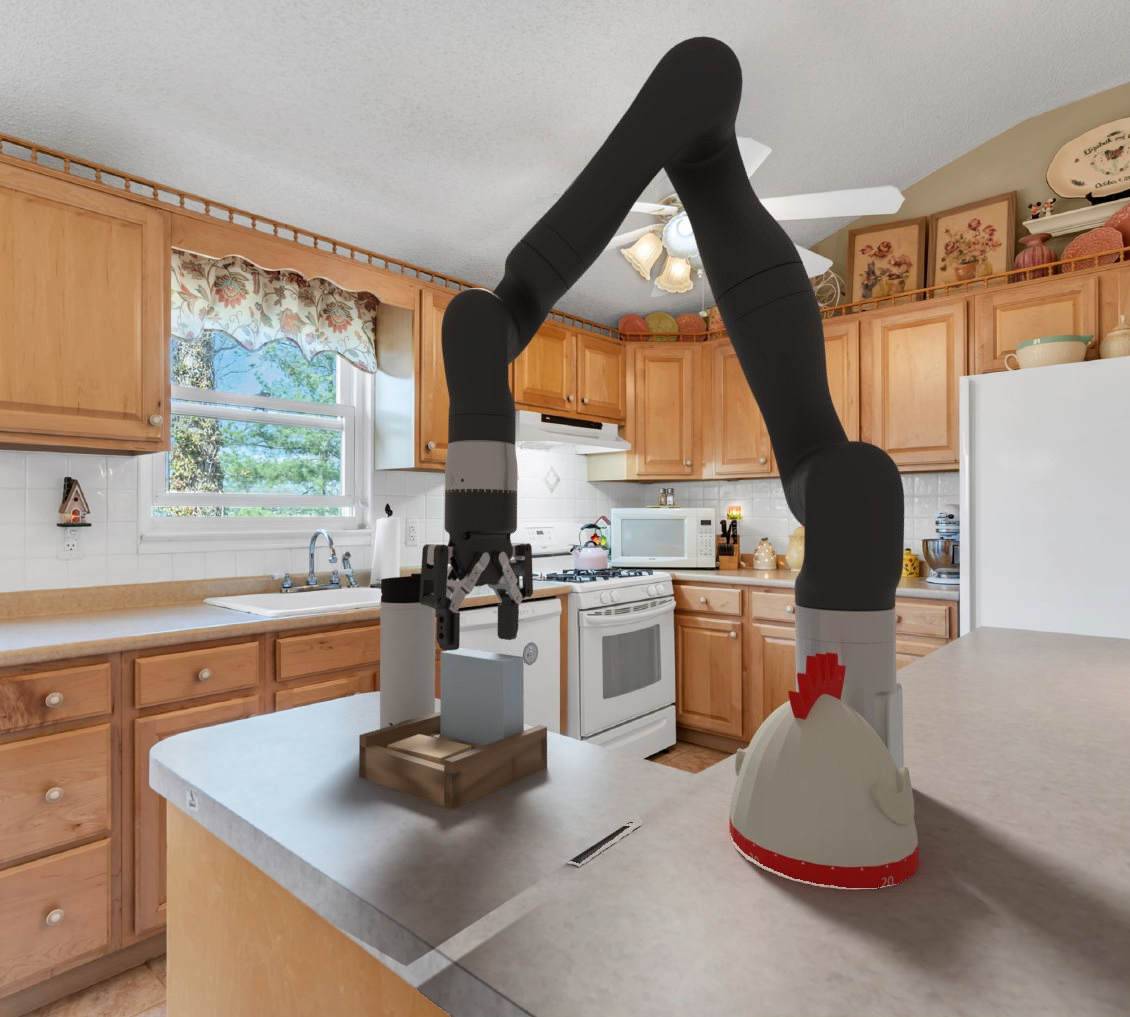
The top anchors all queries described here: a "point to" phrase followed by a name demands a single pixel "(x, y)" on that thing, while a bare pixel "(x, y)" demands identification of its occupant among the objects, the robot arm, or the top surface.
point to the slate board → (481, 695)
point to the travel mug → (406, 652)
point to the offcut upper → (429, 748)
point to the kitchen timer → (824, 791)
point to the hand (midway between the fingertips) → (479, 643)
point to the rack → (450, 763)
